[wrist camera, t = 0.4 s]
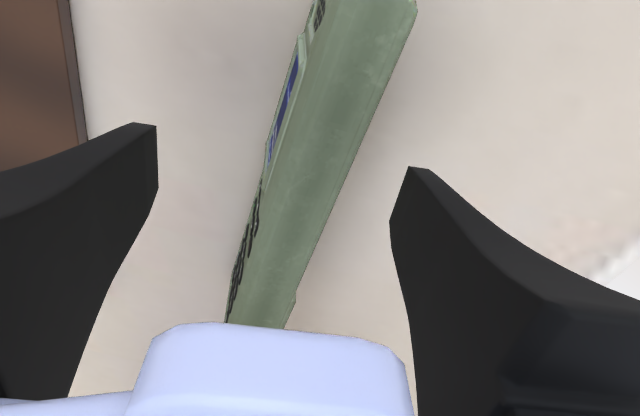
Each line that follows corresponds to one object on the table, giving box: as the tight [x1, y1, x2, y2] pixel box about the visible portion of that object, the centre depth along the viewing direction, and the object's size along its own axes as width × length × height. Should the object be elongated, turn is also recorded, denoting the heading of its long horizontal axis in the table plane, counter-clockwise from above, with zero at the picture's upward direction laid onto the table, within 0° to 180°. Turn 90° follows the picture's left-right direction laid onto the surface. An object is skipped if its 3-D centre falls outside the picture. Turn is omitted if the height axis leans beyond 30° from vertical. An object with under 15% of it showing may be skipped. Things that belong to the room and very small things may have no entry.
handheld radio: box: [224, 0, 418, 329], centre depth 19 cm, size 7×3×25 cm
